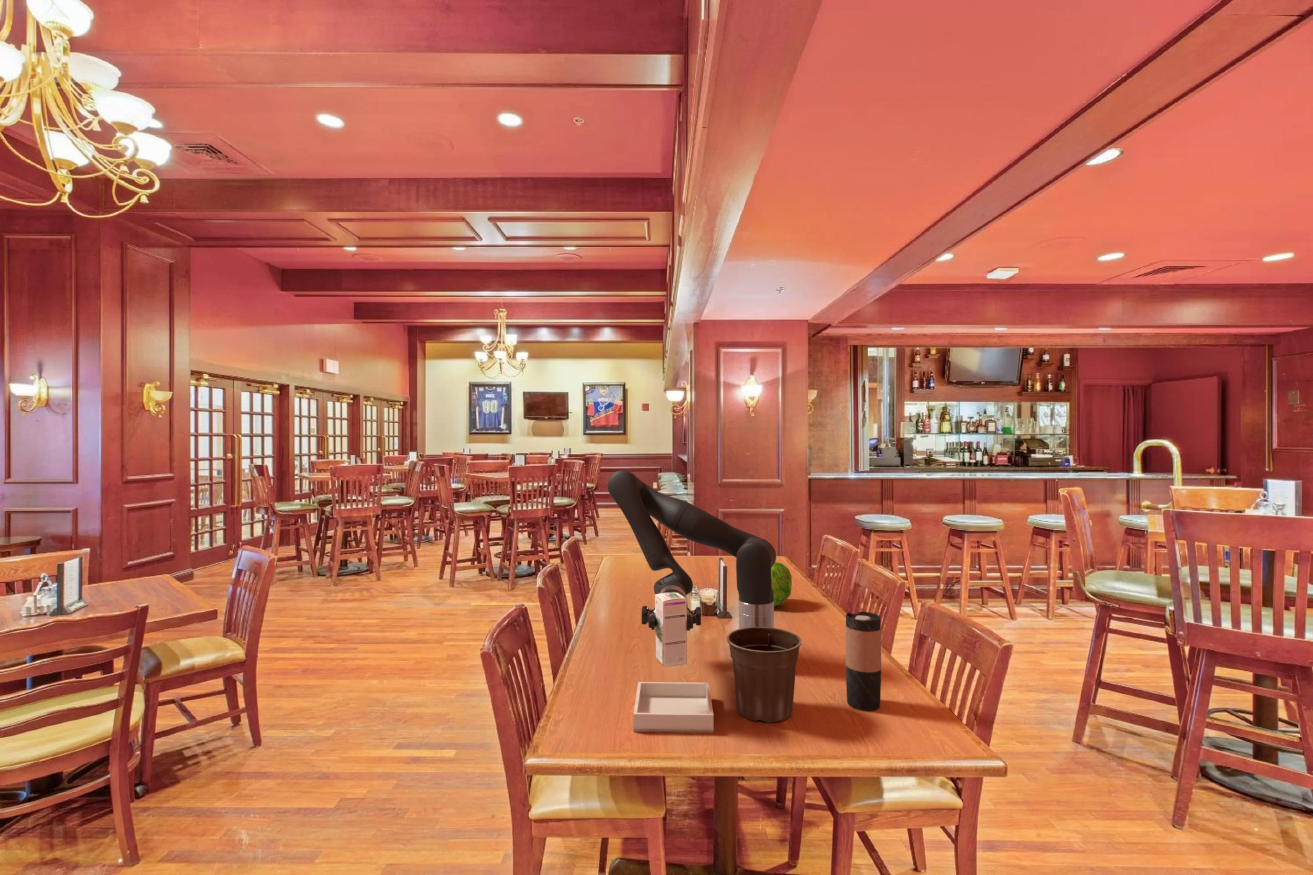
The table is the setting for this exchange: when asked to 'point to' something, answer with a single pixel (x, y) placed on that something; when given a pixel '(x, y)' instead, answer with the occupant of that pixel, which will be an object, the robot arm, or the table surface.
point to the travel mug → (863, 660)
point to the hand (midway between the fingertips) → (670, 625)
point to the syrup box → (671, 629)
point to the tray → (673, 707)
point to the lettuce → (780, 583)
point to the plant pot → (764, 671)
